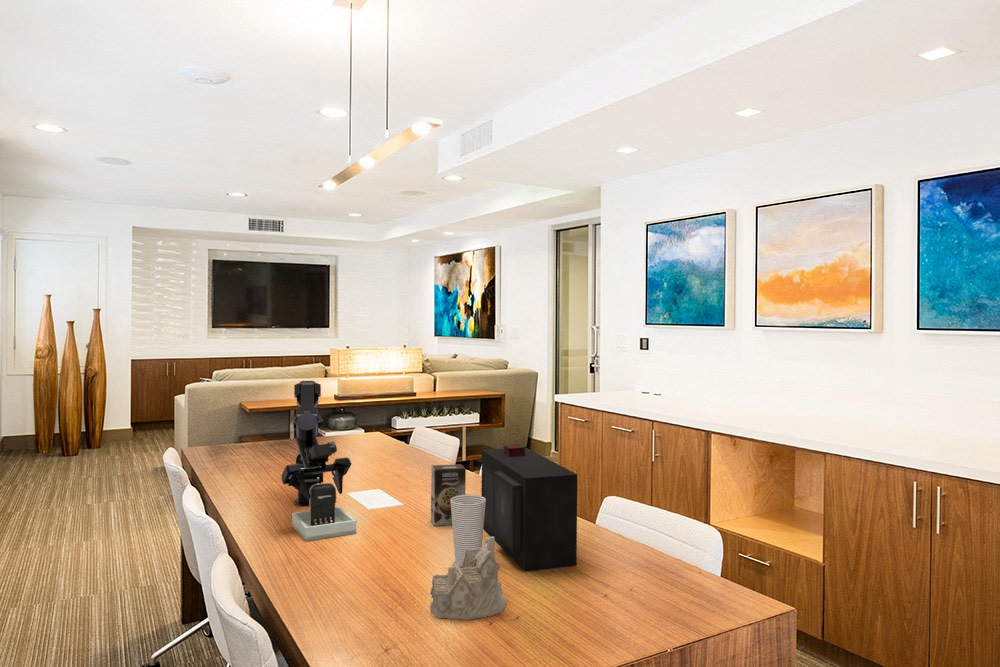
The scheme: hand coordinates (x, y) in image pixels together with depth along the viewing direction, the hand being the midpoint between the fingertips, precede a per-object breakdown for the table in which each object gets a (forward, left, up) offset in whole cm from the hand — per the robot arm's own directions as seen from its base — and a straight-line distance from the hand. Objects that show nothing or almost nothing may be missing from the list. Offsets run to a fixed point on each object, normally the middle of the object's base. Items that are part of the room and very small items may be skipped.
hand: (325, 495), depth 187 cm
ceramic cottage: (+61, +13, -10) cm, 63 cm away
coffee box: (+9, +33, -10) cm, 35 cm away
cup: (+41, +23, -10) cm, 48 cm away
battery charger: (-1, 0, -9) cm, 9 cm away
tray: (-1, 0, -10) cm, 10 cm away
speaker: (+36, +41, -10) cm, 55 cm away
